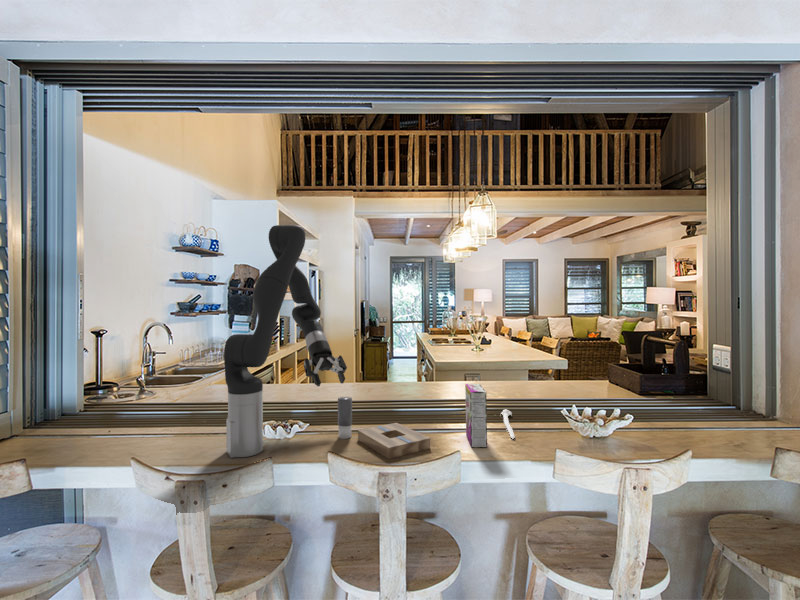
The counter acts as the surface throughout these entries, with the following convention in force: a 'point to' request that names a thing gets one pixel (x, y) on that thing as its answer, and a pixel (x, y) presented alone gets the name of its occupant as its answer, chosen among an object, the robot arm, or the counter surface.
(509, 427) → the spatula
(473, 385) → the candy bar box
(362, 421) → the counter surface
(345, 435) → the grey peg
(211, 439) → the counter surface
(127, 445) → the counter surface
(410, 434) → the board
